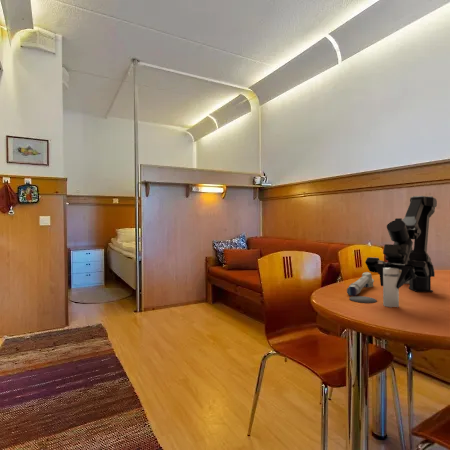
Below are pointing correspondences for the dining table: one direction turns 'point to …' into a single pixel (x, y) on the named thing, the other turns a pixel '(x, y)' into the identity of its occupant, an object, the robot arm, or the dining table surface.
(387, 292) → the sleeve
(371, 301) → the pad
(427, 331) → the dining table surface
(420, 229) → the robot arm
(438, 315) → the dining table surface
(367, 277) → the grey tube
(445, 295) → the dining table surface
